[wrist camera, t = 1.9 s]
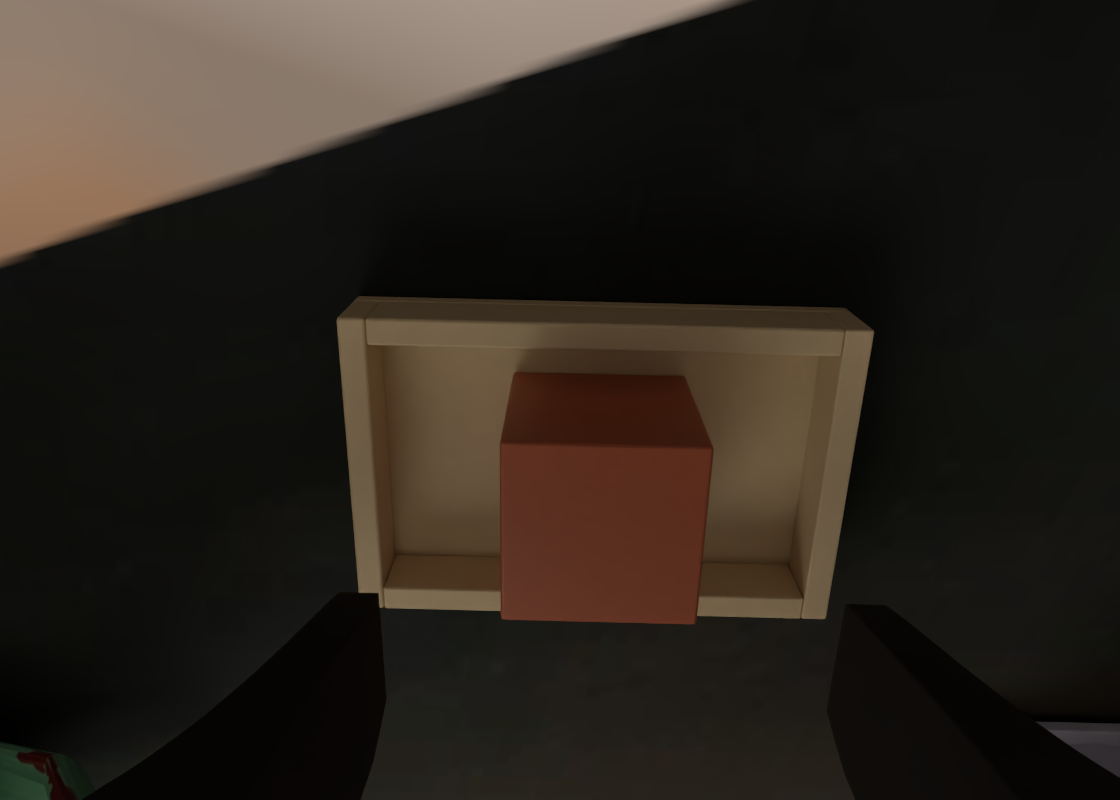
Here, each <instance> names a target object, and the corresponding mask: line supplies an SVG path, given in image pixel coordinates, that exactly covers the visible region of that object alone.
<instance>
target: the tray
mask: <svg viewBox="0 0 1120 800" xmlns="http://www.w3.org/2000/svg"><path fill="white" fill-rule="evenodd" d="M337 331H338V343H339V356H340V368H341V380H342V393H343V405H344V417H345V429H346V442H347V454H348V466H349V478H350V491H351V503H352V515H353V527H354V540H355V552H356V564H357V576H358V589H359V593H379V606H380V608H382V607H384V605H385V608H406V609H446V610H486V611H501V583H500V439H501V434H502V429H503V424H504V419H505V414H506V409H507V404H508V399H509V394H510V389H511V384H512V379H513V375H514V373H516V372H531V373H573V374H614V375H655V376H684V377H685V378H686V380H687V383H688V385H689V388H690V390H691V393H692V395H693V398H694V400H695V403H696V405H697V408H698V410H699V413H700V415H701V418H702V420H703V423H704V425H705V428H706V430H707V433H708V435H709V438H710V440H711V443H712V445H713V448H714V452H713V462H712V472H711V482H710V492H709V502H708V512H707V522H706V532H705V542H704V552H703V562H702V572H701V582H700V592H699V602H698V612H697V616H725V617H765V618H800V617H801V618H803V619H825V618H826V613H827V608H828V602H829V596H830V590H831V584H832V578H833V572H834V566H835V560H836V554H837V548H838V543H839V537H840V531H841V525H842V519H843V513H844V507H845V501H846V495H847V489H848V484H849V478H850V472H851V466H852V460H853V454H854V448H855V442H856V436H857V430H858V425H859V419H860V413H861V407H862V401H863V395H864V389H865V383H866V377H867V371H868V365H869V360H870V354H871V348H872V342H873V336H874V330H872V329H871V328H870V327H869V326H867V325H866V324H865V323H863V322H862V321H861V320H860V319H858V318H857V317H856V316H855V315H853V314H852V313H851V312H850V311H849V310H847V309H846V308H833V307H791V306H749V305H708V304H666V303H624V302H583V301H541V300H499V299H457V298H416V297H374V296H359V297H357V298H356V299H355V301H354V302H353V303H352V304H351V305H350V306H349V307H348V308H347V309H346V310H345V311H344V312H343V313H342V314H341V315H340V316H339V317H338V318H337Z"/></svg>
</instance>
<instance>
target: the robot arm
mask: <svg viewBox="0 0 1120 800" xmlns="http://www.w3.org/2000/svg"><path fill="white" fill-rule="evenodd" d="M385 703H386V690H385V676H384V662H383V648H382V634H381V620H380V606H379V593H352V592H339V593H338V594H337V595H336V596H335V597H333V598H332V599H331V600H330V601H329V602H328V603H327V604H326V605H325V606H324V607H323V608H322V609H321V610H320V611H319V612H318V613H317V614H316V615H315V616H314V617H313V618H312V619H311V620H310V621H309V622H308V623H306V624H305V625H304V626H303V627H302V628H301V629H300V630H299V631H298V632H297V633H296V634H295V635H294V636H293V637H292V638H291V639H290V640H289V641H288V642H287V643H286V644H285V645H284V646H283V647H282V648H281V649H280V650H279V651H277V652H276V653H275V654H274V655H273V656H272V657H271V658H270V659H269V660H268V661H267V662H266V663H264V664H263V665H262V666H261V667H260V668H259V669H258V670H257V671H256V672H255V673H254V674H253V675H251V676H250V677H249V678H248V679H247V680H246V681H245V682H244V683H243V684H241V685H240V686H239V687H238V688H237V689H235V690H234V691H233V692H232V693H231V694H230V695H228V696H227V697H226V698H225V699H224V700H222V701H221V702H220V703H219V704H218V705H216V706H215V707H214V708H213V709H212V710H210V711H209V712H208V713H207V714H206V715H205V716H203V717H202V718H201V719H199V720H198V721H197V722H196V723H194V724H193V725H192V726H190V727H189V728H188V729H186V730H185V731H184V732H182V733H181V734H180V735H178V736H177V737H176V738H174V739H173V740H172V741H170V742H169V743H167V744H166V745H165V746H163V747H162V748H160V749H159V750H157V751H156V752H155V753H153V754H152V755H150V756H149V757H148V758H146V759H145V760H143V761H142V762H140V763H139V764H137V765H136V766H134V767H133V768H131V769H130V770H128V771H127V772H125V773H124V774H122V775H120V776H119V777H117V778H115V779H114V780H112V781H111V782H109V783H107V784H106V785H104V786H102V787H101V788H99V789H98V790H96V791H94V792H93V793H91V794H90V795H88V796H86V797H85V798H83V799H81V800H360V799H361V796H362V794H363V791H364V788H365V785H366V782H367V779H368V776H369V773H370V770H371V766H372V763H373V760H374V755H375V751H376V746H377V742H378V737H379V732H380V728H381V723H382V718H383V713H384V708H385ZM827 713H828V716H829V720H830V724H831V728H832V732H833V735H834V739H835V743H836V746H837V750H838V753H839V757H840V760H841V763H842V767H843V770H844V773H845V776H846V778H847V781H848V783H849V786H850V788H851V791H852V793H853V795H854V798H855V800H1120V724H1112V723H1073V722H1036V721H1034V720H1033V719H1031V718H1030V717H1028V716H1027V715H1026V714H1024V713H1023V712H1022V711H1020V710H1019V709H1018V708H1016V707H1015V706H1014V705H1012V704H1011V703H1010V702H1008V701H1007V700H1005V699H1004V698H1003V697H1002V696H1000V695H999V694H998V693H996V692H995V691H994V690H992V689H991V688H990V687H988V686H987V685H986V684H985V683H983V682H982V681H981V680H980V679H978V678H977V677H976V676H974V675H973V674H972V673H971V672H969V671H968V670H967V669H966V668H964V667H963V666H962V665H961V664H959V663H958V662H957V661H956V660H954V659H953V658H952V657H951V656H949V655H948V654H947V653H946V652H944V651H943V650H942V649H941V648H940V647H938V646H937V645H936V644H935V643H933V642H932V641H931V640H930V639H928V638H927V637H926V636H925V635H923V634H922V633H921V632H920V631H919V630H917V629H916V628H915V627H914V626H912V625H911V624H910V623H909V622H907V621H906V620H905V619H903V618H902V617H901V616H900V615H898V614H897V613H896V612H894V611H893V610H891V609H890V608H889V607H887V606H886V605H857V604H846V606H845V611H844V617H843V622H842V628H841V633H840V639H839V645H838V650H837V656H836V661H835V667H834V672H833V678H832V684H831V689H830V695H829V700H828V706H827Z"/></svg>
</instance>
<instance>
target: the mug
mask: <svg viewBox="0 0 1120 800" xmlns="http://www.w3.org/2000/svg"><path fill="white" fill-rule="evenodd" d="M94 791H95V789H94V787H93V786H92V784H91V782H90V780H89V778H88V776H87V775H86V773H85V772H84V771H83V769H82V768H81V767H80V765H79V764H78V763H77V762H75V761H74V760H73V759H72V758H71V757H68V756H65V755H62V754H58V753H53V752H48V751H43V750H38V749H34V748H29V747H24V746H19V745H14V744H9V743H5V742H0V800H81V799H83V798H85V797H86V796H88V795H90V794H91V793H93V792H94Z"/></svg>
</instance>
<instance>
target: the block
mask: <svg viewBox="0 0 1120 800" xmlns="http://www.w3.org/2000/svg"><path fill="white" fill-rule="evenodd" d="M713 452H714V448H713V445H712V443H711V440H710V438H709V435H708V433H707V430H706V428H705V425H704V423H703V420H702V418H701V415H700V413H699V410H698V408H697V405H696V403H695V400H694V398H693V395H692V393H691V390H690V388H689V385H688V383H687V380H686V378H685V377H684V376H655V375H614V374H573V373H531V372H516V373H514V375H513V379H512V384H511V389H510V394H509V399H508V404H507V409H506V414H505V419H504V424H503V429H502V434H501V439H500V583H501V617H502V619H504V620H543V621H582V622H622V623H662V624H695V623H696V621H697V612H698V602H699V592H700V582H701V572H702V562H703V552H704V542H705V532H706V522H707V512H708V502H709V492H710V482H711V472H712V462H713Z"/></svg>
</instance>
